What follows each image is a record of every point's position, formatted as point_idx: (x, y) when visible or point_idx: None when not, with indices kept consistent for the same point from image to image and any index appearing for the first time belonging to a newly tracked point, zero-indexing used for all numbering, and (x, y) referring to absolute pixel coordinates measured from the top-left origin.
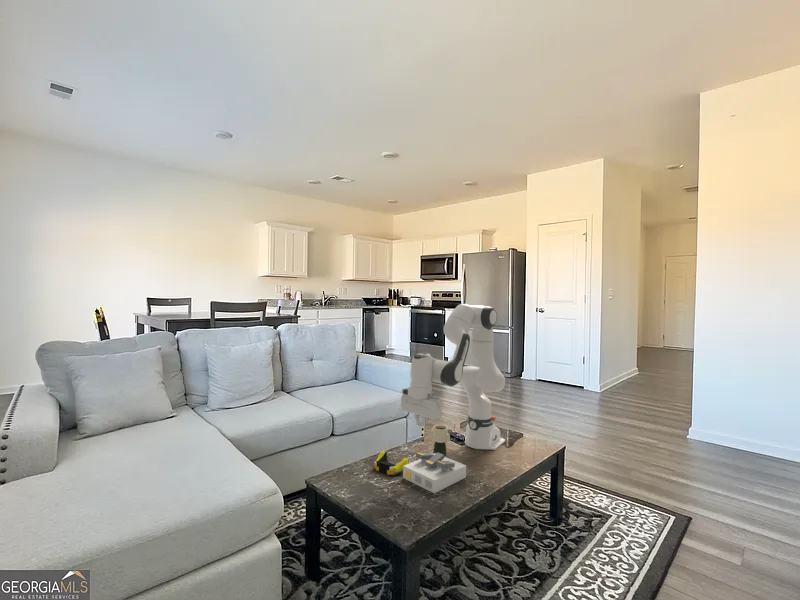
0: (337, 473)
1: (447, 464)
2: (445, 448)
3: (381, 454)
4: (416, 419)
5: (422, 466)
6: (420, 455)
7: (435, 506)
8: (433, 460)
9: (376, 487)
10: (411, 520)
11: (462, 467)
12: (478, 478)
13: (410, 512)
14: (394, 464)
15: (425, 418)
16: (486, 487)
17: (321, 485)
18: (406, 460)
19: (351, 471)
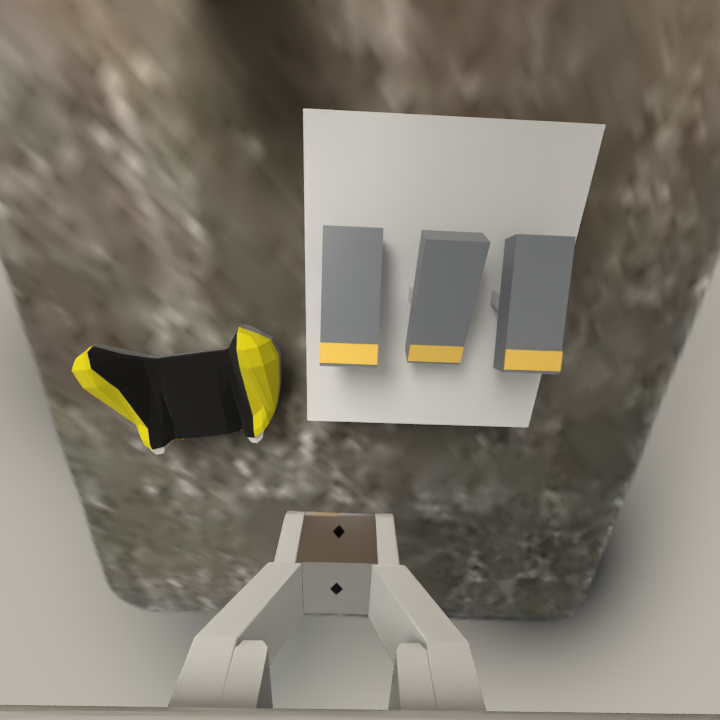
0: (115, 531)
1: (562, 323)
2: None
3: (104, 394)
4: (276, 638)
5: (387, 356)
6: (360, 366)
7: (554, 459)
8: (448, 330)
9: (303, 505)
10: (529, 553)
11: (591, 176)
12: (631, 88)
13: (502, 531)
14: (217, 377)
15: (458, 657)
16: (703, 163)
17: (173, 600)
18: (262, 356)
19: (128, 491)
